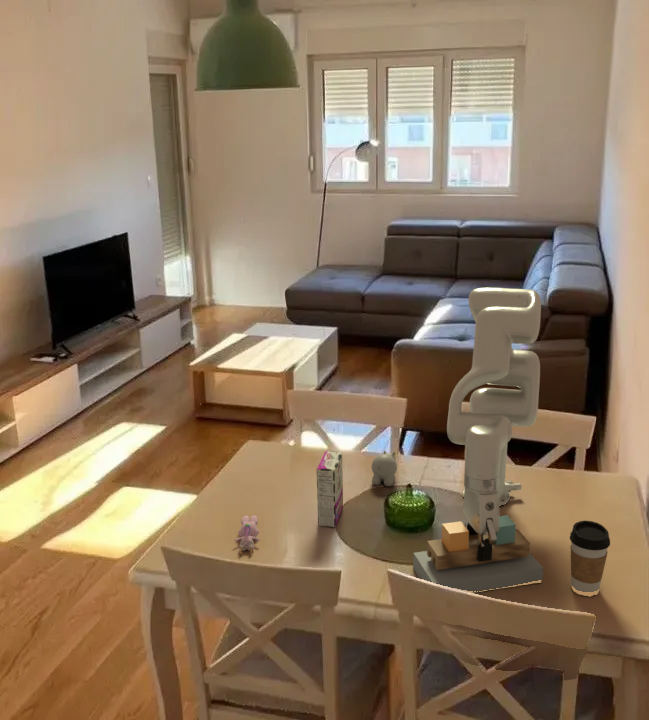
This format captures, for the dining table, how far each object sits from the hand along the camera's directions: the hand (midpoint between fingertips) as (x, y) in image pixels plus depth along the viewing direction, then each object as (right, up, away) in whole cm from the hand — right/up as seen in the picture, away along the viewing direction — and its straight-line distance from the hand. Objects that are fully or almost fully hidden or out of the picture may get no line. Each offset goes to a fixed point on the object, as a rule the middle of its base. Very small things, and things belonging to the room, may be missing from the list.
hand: (477, 551), depth 181 cm
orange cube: (-6, +2, -2) cm, 6 cm away
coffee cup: (+23, -8, -4) cm, 25 cm away
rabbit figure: (-54, -2, +18) cm, 57 cm away
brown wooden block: (0, -1, 0) cm, 1 cm away
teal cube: (+5, +3, 0) cm, 6 cm away
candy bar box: (-33, +2, +29) cm, 44 cm away
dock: (0, -6, +2) cm, 6 cm away
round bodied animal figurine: (-17, +9, +50) cm, 53 cm away
